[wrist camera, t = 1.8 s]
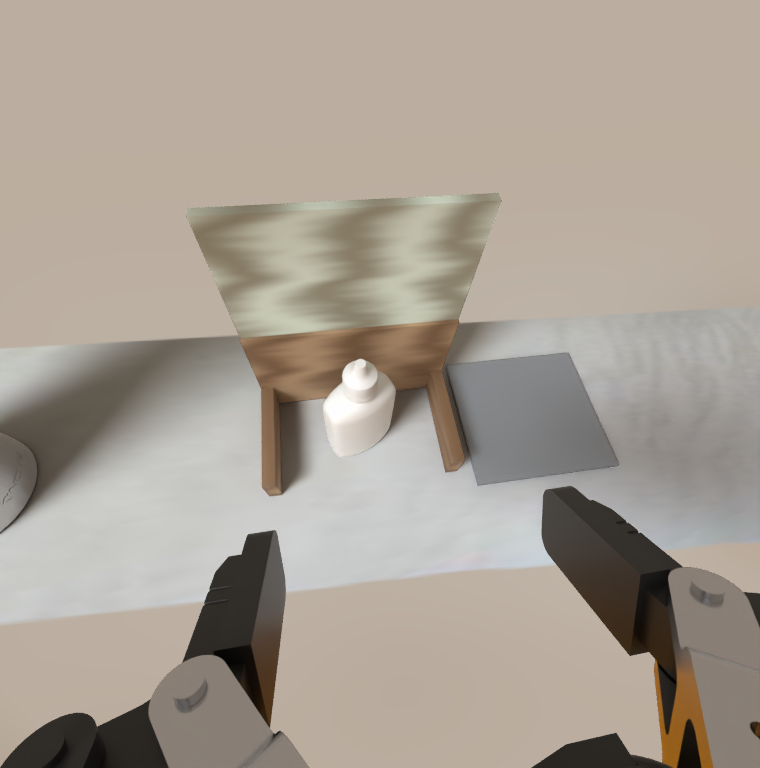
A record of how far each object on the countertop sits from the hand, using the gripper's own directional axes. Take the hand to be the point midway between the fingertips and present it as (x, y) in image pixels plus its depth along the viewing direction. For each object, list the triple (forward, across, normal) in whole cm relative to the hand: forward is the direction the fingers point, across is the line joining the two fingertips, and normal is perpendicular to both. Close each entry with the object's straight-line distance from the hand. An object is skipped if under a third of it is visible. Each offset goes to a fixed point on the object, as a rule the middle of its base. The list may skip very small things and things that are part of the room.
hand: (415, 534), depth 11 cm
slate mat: (+23, -16, +7) cm, 29 cm away
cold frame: (+23, 0, +6) cm, 24 cm away
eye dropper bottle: (+23, 0, +7) cm, 24 cm away
